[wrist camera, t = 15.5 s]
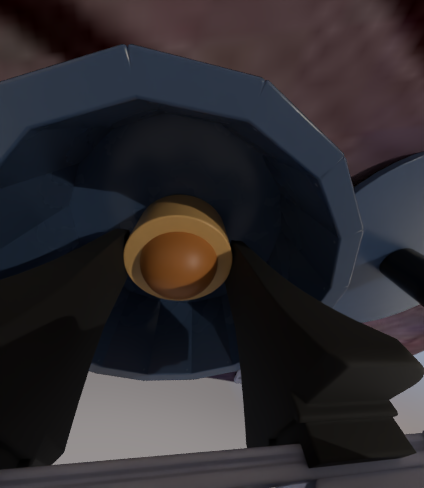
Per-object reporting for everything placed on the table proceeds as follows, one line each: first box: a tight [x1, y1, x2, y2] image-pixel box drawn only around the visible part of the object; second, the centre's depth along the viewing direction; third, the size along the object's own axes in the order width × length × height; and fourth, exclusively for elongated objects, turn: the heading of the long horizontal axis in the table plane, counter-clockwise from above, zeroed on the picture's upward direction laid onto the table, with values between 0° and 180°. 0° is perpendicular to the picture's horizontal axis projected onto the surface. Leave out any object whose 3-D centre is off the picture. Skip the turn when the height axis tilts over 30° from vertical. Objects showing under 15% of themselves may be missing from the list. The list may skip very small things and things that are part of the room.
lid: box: [333, 152, 424, 323], centre depth 12 cm, size 15×15×5 cm
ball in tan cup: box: [123, 195, 233, 301], centre depth 9 cm, size 5×5×4 cm
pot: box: [0, 44, 364, 381], centre depth 9 cm, size 14×14×5 cm
